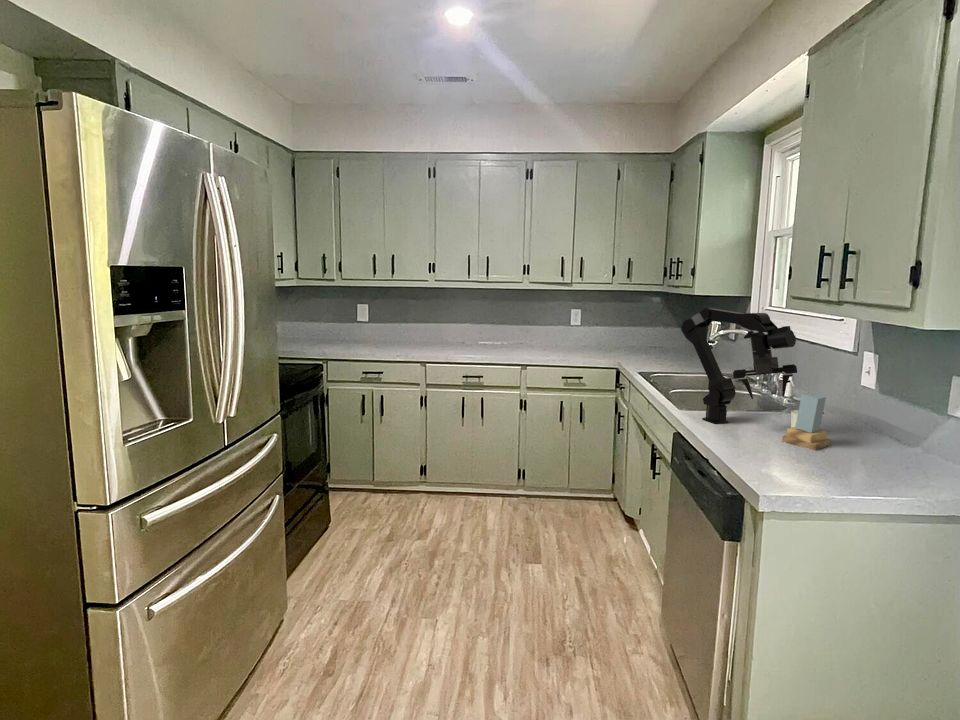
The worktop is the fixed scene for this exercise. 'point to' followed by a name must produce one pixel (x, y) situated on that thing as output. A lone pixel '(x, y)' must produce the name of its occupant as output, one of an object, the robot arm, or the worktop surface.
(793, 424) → the shot glass
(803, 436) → the tower top
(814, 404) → the tall block
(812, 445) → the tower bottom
